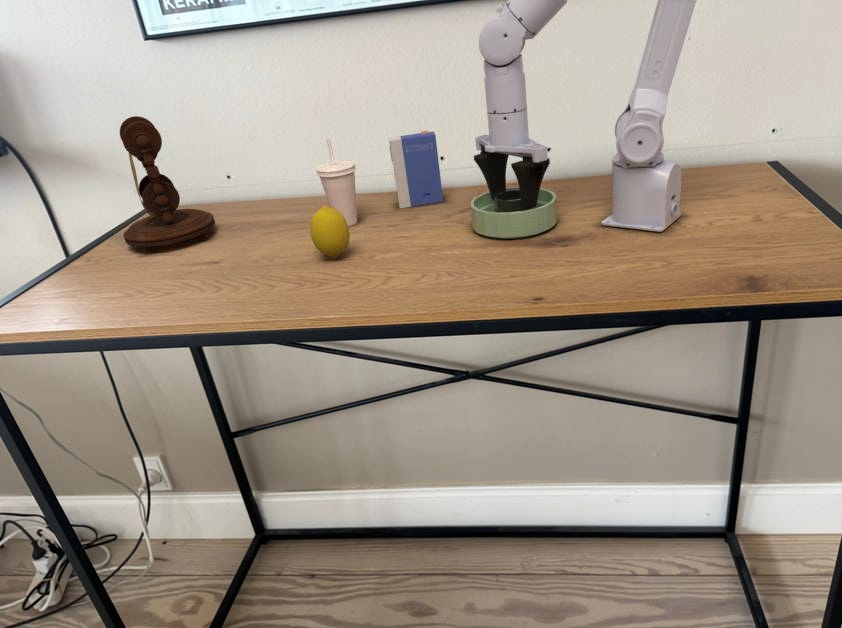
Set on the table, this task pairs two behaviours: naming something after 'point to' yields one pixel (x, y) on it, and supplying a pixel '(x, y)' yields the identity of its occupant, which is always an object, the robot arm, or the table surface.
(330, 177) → the smoothie
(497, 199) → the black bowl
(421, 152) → the walkman
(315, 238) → the lemon
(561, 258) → the table surface
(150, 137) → the brown pulley stand
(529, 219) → the sage bowl
